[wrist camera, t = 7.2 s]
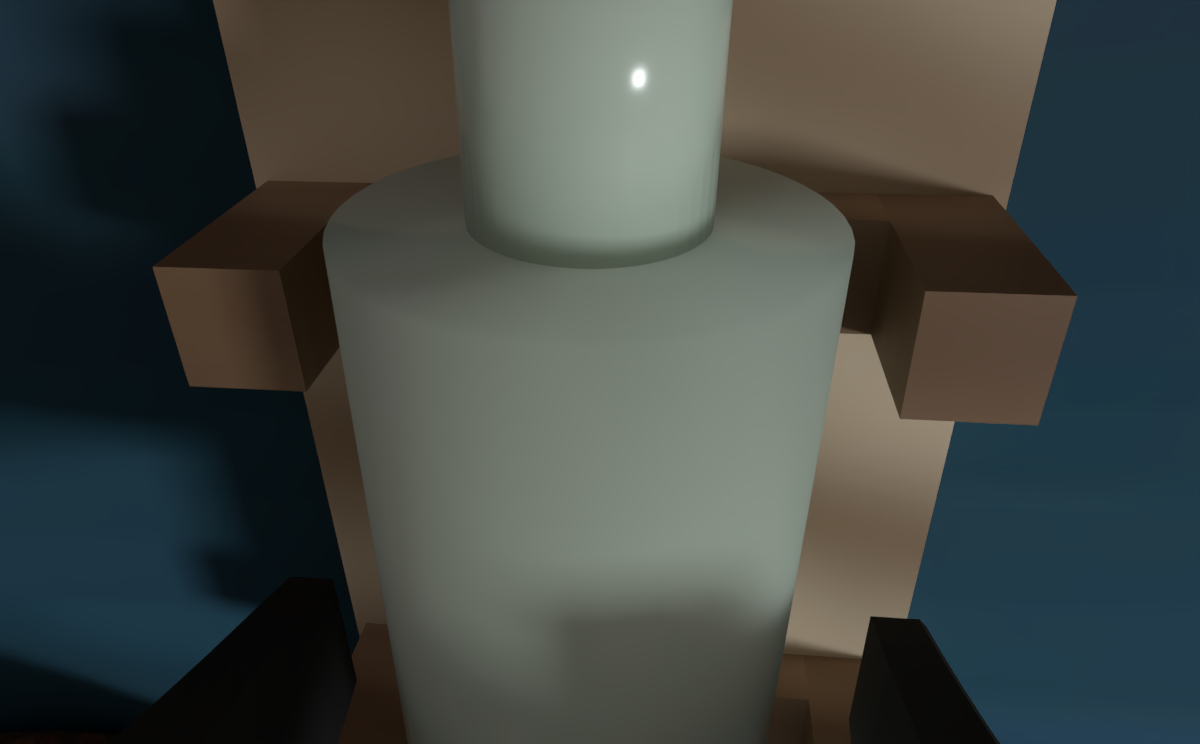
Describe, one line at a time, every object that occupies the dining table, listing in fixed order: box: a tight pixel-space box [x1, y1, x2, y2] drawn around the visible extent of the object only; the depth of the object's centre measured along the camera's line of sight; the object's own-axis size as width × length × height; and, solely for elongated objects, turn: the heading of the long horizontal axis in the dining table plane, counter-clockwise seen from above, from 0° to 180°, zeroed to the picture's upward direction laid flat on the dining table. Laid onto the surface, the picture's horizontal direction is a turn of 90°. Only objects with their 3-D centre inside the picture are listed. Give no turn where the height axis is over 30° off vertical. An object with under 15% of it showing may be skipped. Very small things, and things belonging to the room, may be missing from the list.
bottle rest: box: [153, 0, 1077, 744], centre depth 14 cm, size 16×10×4 cm, turn 1°
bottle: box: [322, 0, 855, 744], centre depth 10 cm, size 16×5×5 cm, turn 179°
